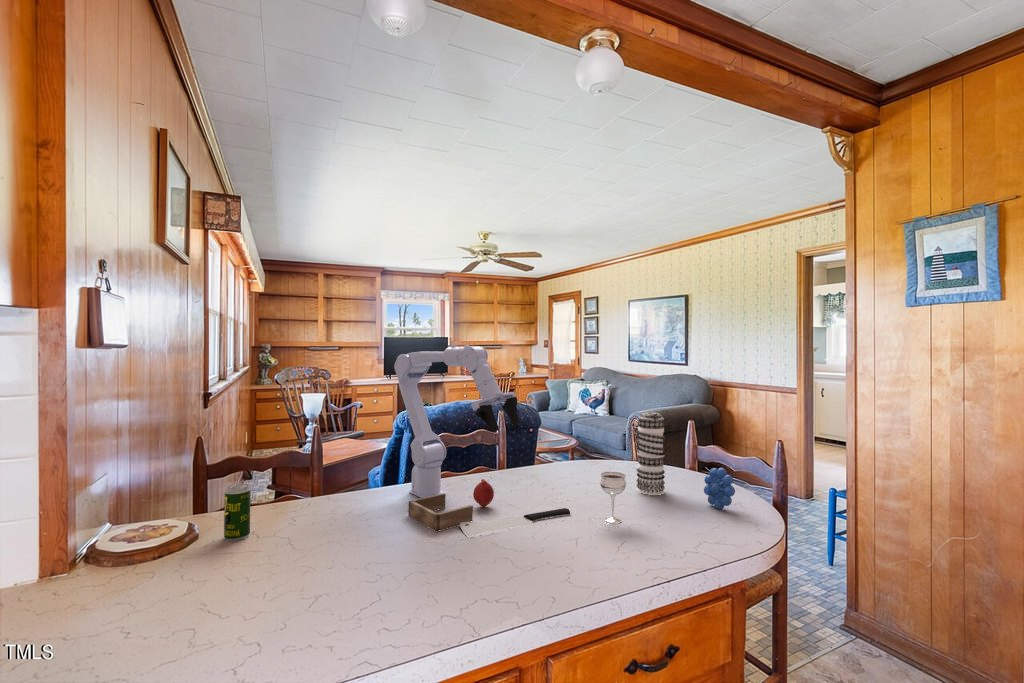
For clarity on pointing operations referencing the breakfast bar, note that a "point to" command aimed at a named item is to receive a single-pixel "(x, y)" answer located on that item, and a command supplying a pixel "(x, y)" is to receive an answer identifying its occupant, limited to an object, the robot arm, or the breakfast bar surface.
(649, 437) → the striped tall cylinder
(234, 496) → the green fruit can
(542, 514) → the kitchen cleaver
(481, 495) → the onion
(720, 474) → the grapes
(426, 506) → the box
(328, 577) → the breakfast bar surface
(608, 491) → the wineglass
